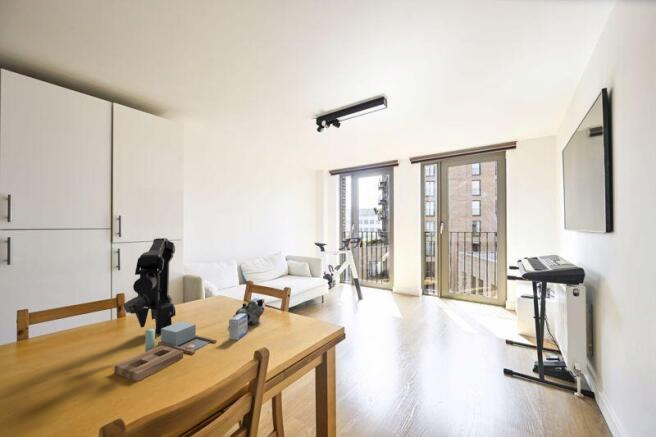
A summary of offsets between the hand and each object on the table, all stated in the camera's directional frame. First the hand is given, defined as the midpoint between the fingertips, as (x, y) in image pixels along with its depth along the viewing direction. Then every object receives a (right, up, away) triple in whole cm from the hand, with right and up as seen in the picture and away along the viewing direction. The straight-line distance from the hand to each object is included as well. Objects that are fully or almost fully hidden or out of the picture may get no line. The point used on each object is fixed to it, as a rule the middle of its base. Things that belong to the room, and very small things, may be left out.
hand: (150, 329), depth 103 cm
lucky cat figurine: (+28, -10, +33) cm, 44 cm away
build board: (+5, -9, -8) cm, 13 cm away
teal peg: (0, -9, 0) cm, 9 cm away
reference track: (+10, -9, +9) cm, 16 cm away
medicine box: (+28, -10, +16) cm, 34 cm away
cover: (+5, -10, +11) cm, 15 cm away
